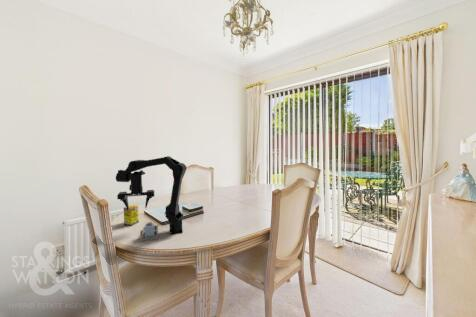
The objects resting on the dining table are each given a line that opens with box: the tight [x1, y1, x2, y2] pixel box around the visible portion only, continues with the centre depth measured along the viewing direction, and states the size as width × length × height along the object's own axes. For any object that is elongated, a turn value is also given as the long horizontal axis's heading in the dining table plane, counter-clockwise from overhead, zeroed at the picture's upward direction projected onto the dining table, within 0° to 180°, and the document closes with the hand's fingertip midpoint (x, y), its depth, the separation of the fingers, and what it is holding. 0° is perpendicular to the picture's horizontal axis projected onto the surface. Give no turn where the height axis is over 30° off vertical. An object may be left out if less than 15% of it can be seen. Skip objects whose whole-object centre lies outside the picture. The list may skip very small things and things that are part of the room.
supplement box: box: [123, 204, 139, 227], centre depth 130 cm, size 6×6×11 cm
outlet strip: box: [139, 224, 159, 242], centre depth 117 cm, size 9×15×2 cm, turn 19°
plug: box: [144, 221, 156, 238], centre depth 113 cm, size 4×4×8 cm
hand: (137, 208), depth 120 cm, fingers open, 9 cm apart
